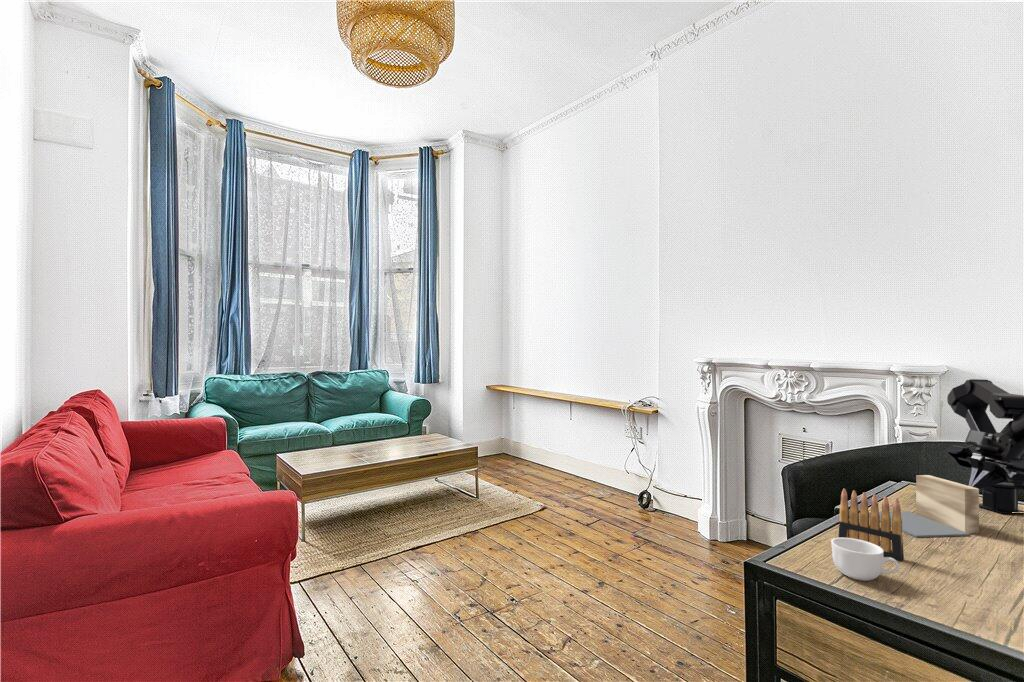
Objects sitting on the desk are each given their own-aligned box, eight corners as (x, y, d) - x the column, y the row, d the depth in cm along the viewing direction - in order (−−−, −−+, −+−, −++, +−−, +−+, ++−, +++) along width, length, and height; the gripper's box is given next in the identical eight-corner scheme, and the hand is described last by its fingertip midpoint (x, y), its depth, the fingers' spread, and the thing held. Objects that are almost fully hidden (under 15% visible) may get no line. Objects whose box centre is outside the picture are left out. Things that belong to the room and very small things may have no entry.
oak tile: (929, 515, 123) (928, 475, 123) (979, 533, 111) (978, 488, 111) (916, 515, 123) (916, 475, 123) (965, 533, 111) (964, 489, 111)
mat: (909, 513, 124) (909, 511, 124) (970, 535, 109) (969, 534, 109) (861, 514, 123) (861, 512, 123) (916, 537, 108) (916, 535, 108)
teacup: (828, 576, 89) (828, 546, 89) (833, 562, 95) (833, 534, 95) (899, 594, 83) (899, 561, 83) (899, 577, 89) (899, 547, 89)
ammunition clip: (837, 545, 103) (837, 488, 103) (840, 543, 104) (840, 486, 104) (902, 562, 95) (902, 500, 95) (903, 559, 96) (903, 498, 97)
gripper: (952, 413, 127) (913, 457, 126) (1036, 425, 109) (991, 476, 108) (979, 443, 128) (941, 487, 127) (1067, 460, 110) (1023, 511, 108)
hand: (970, 489), depth 117 cm, fingers closed
